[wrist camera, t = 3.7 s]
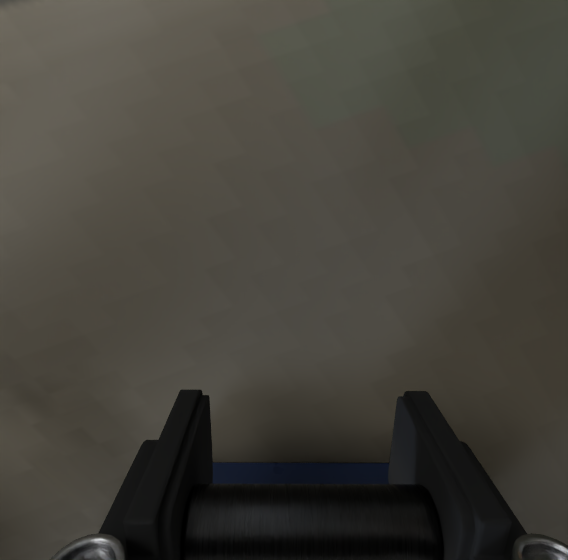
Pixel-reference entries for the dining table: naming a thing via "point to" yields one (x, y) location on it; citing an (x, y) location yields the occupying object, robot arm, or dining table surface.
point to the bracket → (300, 473)
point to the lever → (311, 522)
